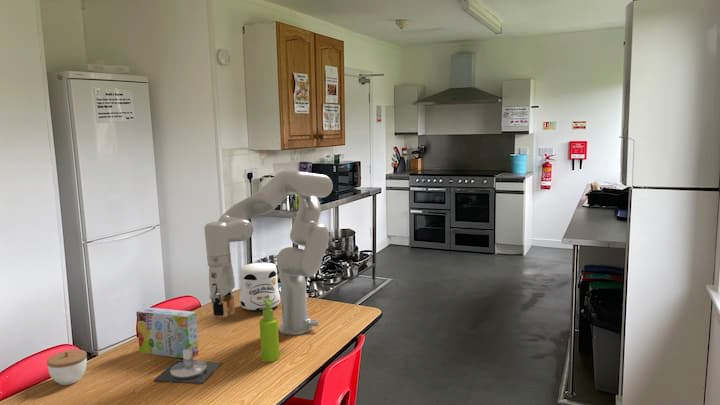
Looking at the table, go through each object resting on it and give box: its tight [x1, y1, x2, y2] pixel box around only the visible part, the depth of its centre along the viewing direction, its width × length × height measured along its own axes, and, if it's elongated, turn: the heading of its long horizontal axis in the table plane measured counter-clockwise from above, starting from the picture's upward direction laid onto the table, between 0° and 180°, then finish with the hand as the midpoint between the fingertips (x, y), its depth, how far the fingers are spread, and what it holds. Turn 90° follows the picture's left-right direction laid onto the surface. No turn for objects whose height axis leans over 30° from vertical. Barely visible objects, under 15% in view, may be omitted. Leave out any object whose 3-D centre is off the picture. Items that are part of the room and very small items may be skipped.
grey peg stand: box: [153, 347, 223, 385], centre depth 164 cm, size 16×14×8 cm
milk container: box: [238, 262, 281, 312], centre depth 223 cm, size 17×17×18 cm
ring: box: [211, 295, 236, 318], centre depth 173 cm, size 7×7×5 cm
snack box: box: [136, 306, 199, 359], centre depth 179 cm, size 21×6×15 cm, turn 71°
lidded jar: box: [46, 349, 88, 386], centre depth 161 cm, size 11×11×9 cm
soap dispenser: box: [259, 299, 280, 363], centre depth 172 cm, size 6×7×20 cm
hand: (223, 310), depth 174 cm, fingers closed on ring, 7 cm apart
